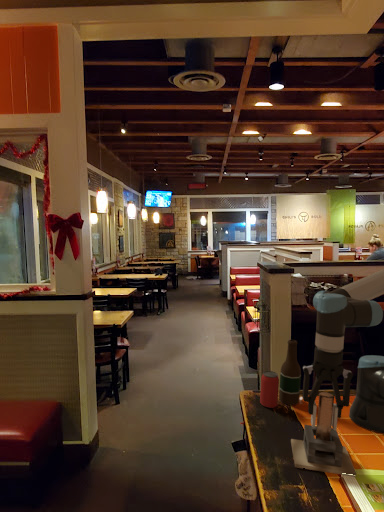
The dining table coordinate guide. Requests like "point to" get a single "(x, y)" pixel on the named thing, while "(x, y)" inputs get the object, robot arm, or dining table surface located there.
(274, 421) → the dining table surface
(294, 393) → the beer bottle
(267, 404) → the beer can
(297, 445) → the collar stand
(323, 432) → the copper tube
